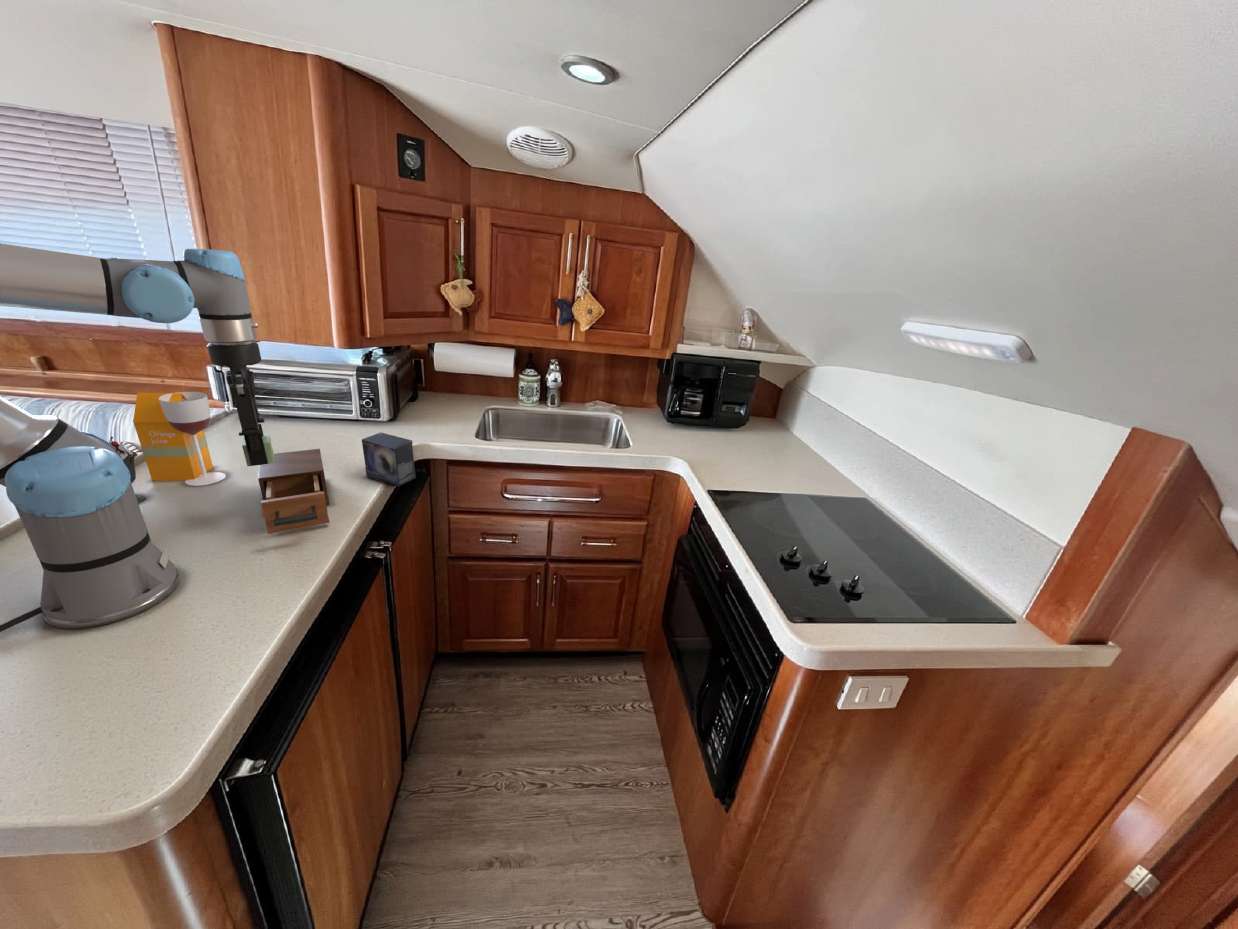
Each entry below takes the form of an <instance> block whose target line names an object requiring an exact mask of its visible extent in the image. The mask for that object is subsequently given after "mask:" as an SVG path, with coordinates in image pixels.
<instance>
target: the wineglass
mask: <svg viewBox="0 0 1238 929" xmlns="http://www.w3.org/2000/svg"><path fill="white" fill-rule="evenodd" d="M170 393H171V394H166V395H163V396H160V397H159V398H158V399H159V402H160V405H161V408H162V410H163V413H164V415H165V417H166V419H167V421H168V422H169V423H170V425H171V426H172V427H173V428H175V429H177V430H179V431H181V432H185V433H188V434H191V435H192V439H193V442H194V446H195V449H196V453H197V457H198V460H199V464H200V467H201V471H202V475H200V476H199V477H197V478H196V479H193V480H187V481H184V483H185V485H187V486H195V487H196V486H207V485H211V484H216V483H218V482H220V481H222V480H224V479H225V478H226V477H227V475H226V474H225V473H223V472H219V471H211V472H210V471H208V472H207V473H206V470H205V466H204V463H203V459H202V455H201V452H200V448H199V444H198V441H197V437H196V433H198V432H200V431H202V430H203V431H204V429H206V428H207V427H208V426H209V424H210V420H211V409H210V403H209V402H210V401H209V399H208V394H206V393H205V392H199V391H179V392H177V393H182V394H183V396H184V397H185V398H186V399H187V400H185V399H182V402H169V399H170V397H171V395H172V394H173V393H174V392H170Z"/></svg>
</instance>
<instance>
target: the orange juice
mask: <svg viewBox="0 0 1238 929" xmlns="http://www.w3.org/2000/svg"><path fill="white" fill-rule="evenodd" d="M171 393H173V394H172V395H171V397H170V399H169V402H182V399H185V400H187V399H186V398H185V397H184V396H183V394H182V393H178V392H142V391H141V392H139V391H138V392H137V393H136V400H135V406H134V413H133V419H132V423H133V426H134V429H135V432H136V435H137V438H138V441H139V444H140V448H141V451H142V455H143V457H144V459H145V463H146V466H147V469H148V473H149V475H150V478H151V481H152V482H185V481H187V480H193V479H196V478H197V477H199V476H200V475H202V471H201V467H200V464H199V460H198V457H197V453H196V449H195V446H194V442H193V439H192V435H191V434H188V433H185V432H181V431H179V430H177V429H175V428H173V427H172V426H171V425H170V423H169V422H168V421H167V419H166V417H165V415H164V413H163V410H162V408H161V405H160V402H159V399H158V398H159V397H160V396H163V395H166V394H171ZM196 437H197V441H198V444H199V448H200V452H201V455H202V459H203V463H204V466H205V470H206V473H209V472H210V471H211V470H212V469H214V465H213V460H212V456H211V453H210V450H209V446H208V441H207V437H206V435H205V430H204V429H203V430H202V431H200V432H198V433H196Z"/></svg>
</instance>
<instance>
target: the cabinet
mask: <svg viewBox="0 0 1238 929" xmlns="http://www.w3.org/2000/svg"><path fill="white" fill-rule="evenodd" d="M315 474H317V475H318V481H319V487H320V492H322V491H324V495H325V501H326V507H328V506H330V499H329V494H328V488H327V481H326V476H325V471H324V464H323V458H322V454H321V448H311V449H303V450H296V451H295V450H294V451H286V452H277V453H274V463H269V464H263V465H258V475H257V481H258V485H259V489H260V494H261V499H262V500H266V489H267V481H270V480H278V479H285V478H293V477H300V476H308V475H315Z"/></svg>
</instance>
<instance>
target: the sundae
mask: <svg viewBox="0 0 1238 929" xmlns="http://www.w3.org/2000/svg"><path fill="white" fill-rule="evenodd" d="M113 439H114V437H113V436H110V440H109V441H108V443H110V444H111V445H112V446H113V447H114V448H115V449H116V451H117V452H119V454H120V455H121V457H122V459H123V462H124V464H125V465H126V466H127V468H128V470H129V472H130V476H131V479H130V480H131V483H132V484H133V483H134V482H135V480H136V479H137V474H136V473H137V472H136V467H135V458H136V457H138V455H139V454H138V453H137V452H136V451H133V450H130V449H127V448H126V447H125V446H124V444H121V443H119V442H118V441H114V440H113ZM135 495H136V498H137V501H138V504H140V503H141V502H143V501H145V500H146V498H147V497H146V495H143V494H135Z"/></svg>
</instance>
